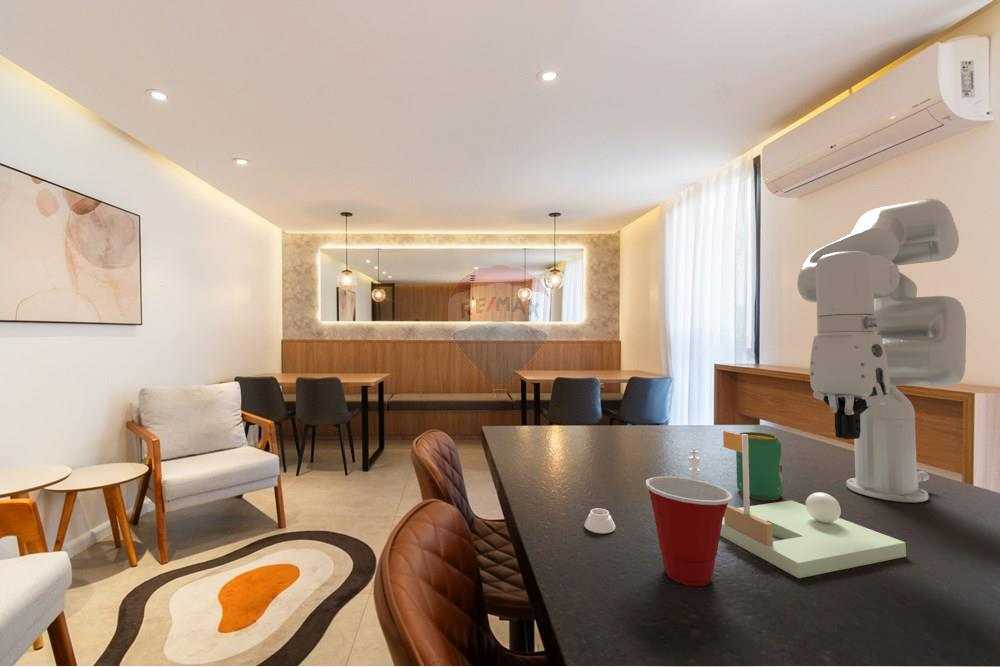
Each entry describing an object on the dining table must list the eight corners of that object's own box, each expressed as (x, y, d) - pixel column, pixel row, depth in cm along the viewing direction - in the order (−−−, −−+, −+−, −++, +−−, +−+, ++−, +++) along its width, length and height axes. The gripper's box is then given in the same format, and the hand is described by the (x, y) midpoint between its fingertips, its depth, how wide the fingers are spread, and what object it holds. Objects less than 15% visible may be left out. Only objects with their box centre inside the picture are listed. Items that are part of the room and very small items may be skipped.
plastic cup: (755, 589, 56) (752, 493, 56) (682, 604, 52) (680, 503, 53) (694, 550, 66) (692, 470, 66) (631, 561, 63) (629, 477, 63)
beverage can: (787, 503, 85) (786, 440, 85) (741, 498, 87) (739, 438, 88) (776, 490, 92) (775, 432, 93) (734, 486, 95) (732, 430, 95)
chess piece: (711, 503, 85) (710, 451, 85) (684, 502, 86) (683, 450, 86) (705, 495, 90) (703, 445, 90) (679, 493, 91) (678, 444, 91)
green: (791, 511, 81) (789, 418, 81) (906, 556, 63) (902, 437, 64) (700, 524, 75) (698, 424, 76) (798, 578, 58) (795, 448, 58)
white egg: (820, 514, 74) (819, 487, 74) (848, 525, 69) (847, 496, 70) (799, 518, 73) (798, 490, 73) (826, 529, 68) (825, 499, 68)
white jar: (587, 521, 78) (582, 533, 73) (587, 504, 78) (582, 515, 73) (616, 525, 76) (613, 537, 71) (616, 508, 76) (612, 519, 71)
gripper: (913, 325, 67) (917, 446, 67) (818, 329, 82) (820, 429, 81) (877, 324, 65) (881, 449, 65) (786, 328, 80) (789, 431, 79)
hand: (847, 437), depth 73 cm, fingers closed
